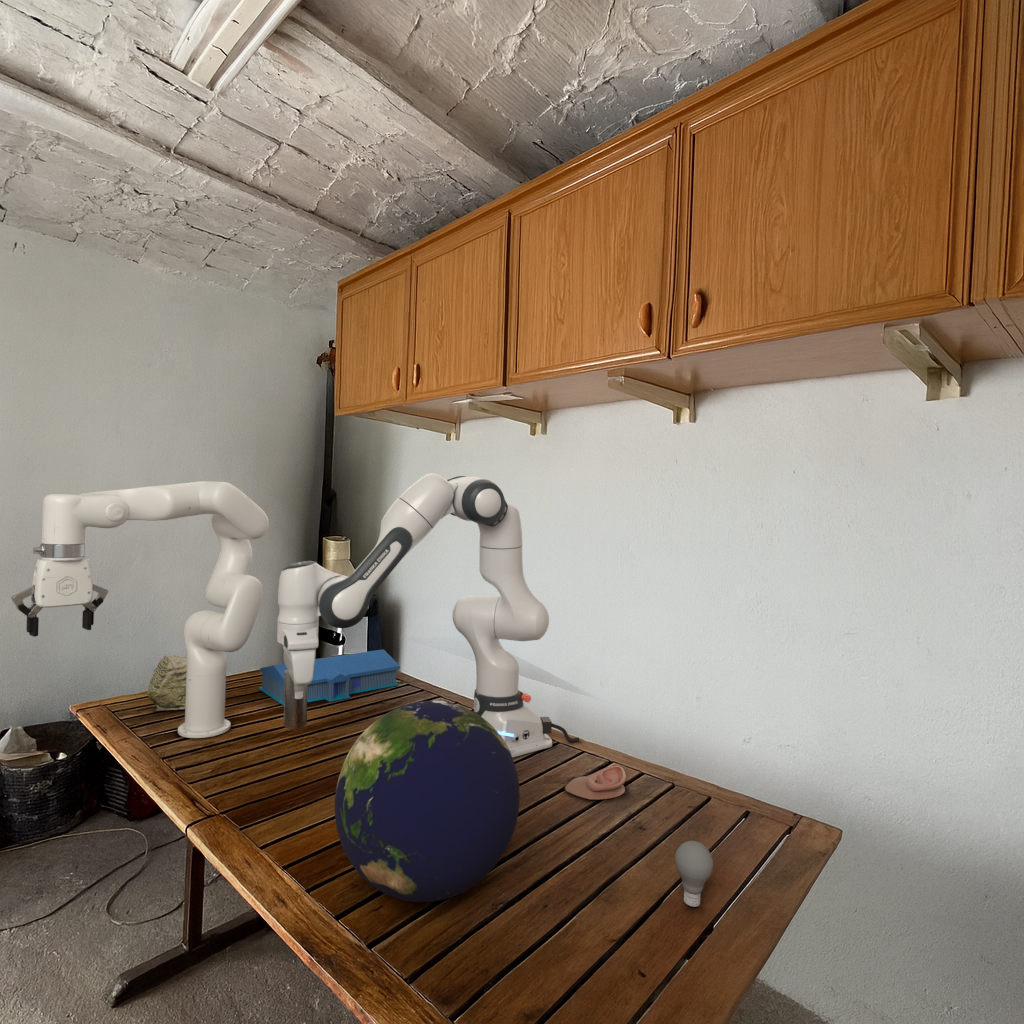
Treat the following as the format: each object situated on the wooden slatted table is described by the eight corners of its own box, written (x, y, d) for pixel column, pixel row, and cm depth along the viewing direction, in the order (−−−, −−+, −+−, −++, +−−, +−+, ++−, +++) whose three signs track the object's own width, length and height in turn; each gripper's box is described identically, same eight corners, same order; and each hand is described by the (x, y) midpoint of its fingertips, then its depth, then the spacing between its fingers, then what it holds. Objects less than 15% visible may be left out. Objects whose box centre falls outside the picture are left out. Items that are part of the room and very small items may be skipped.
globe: (289, 913, 96) (297, 717, 96) (396, 823, 124) (403, 671, 123) (466, 976, 85) (475, 755, 84) (540, 862, 113) (548, 695, 112)
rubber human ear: (563, 778, 138) (569, 757, 150) (563, 796, 138) (569, 774, 150) (625, 786, 136) (626, 764, 147) (624, 804, 136) (625, 781, 147)
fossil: (144, 707, 182) (145, 655, 182) (212, 696, 194) (213, 647, 194) (151, 716, 175) (153, 662, 175) (221, 703, 188) (223, 653, 188)
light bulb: (667, 892, 105) (670, 833, 105) (702, 892, 106) (705, 833, 106) (680, 916, 99) (683, 853, 99) (717, 916, 100) (720, 853, 100)
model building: (289, 709, 186) (291, 675, 185) (258, 688, 204) (259, 657, 204) (403, 687, 212) (405, 657, 212) (366, 670, 230) (368, 643, 230)
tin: (295, 730, 140) (296, 674, 140) (278, 726, 143) (279, 671, 142) (311, 723, 145) (312, 669, 144) (295, 719, 147) (295, 666, 147)
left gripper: (19, 555, 125) (16, 641, 126) (115, 552, 139) (113, 629, 139) (7, 552, 130) (4, 635, 130) (101, 549, 144) (99, 624, 144)
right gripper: (277, 624, 151) (276, 681, 151) (289, 644, 133) (287, 709, 133) (305, 622, 154) (304, 679, 154) (320, 642, 135) (318, 706, 136)
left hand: (60, 632), depth 135 cm, fingers open, 9 cm apart
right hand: (296, 693), depth 143 cm, fingers closed on tin, 5 cm apart
